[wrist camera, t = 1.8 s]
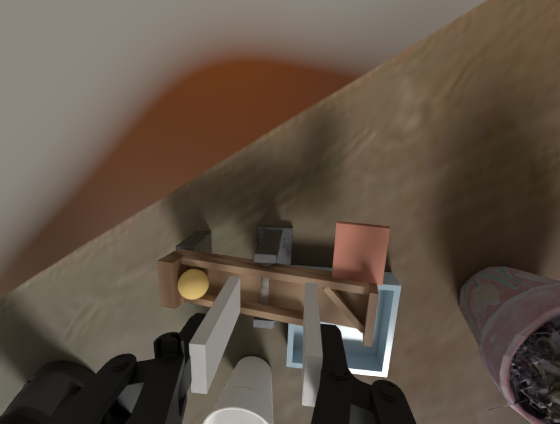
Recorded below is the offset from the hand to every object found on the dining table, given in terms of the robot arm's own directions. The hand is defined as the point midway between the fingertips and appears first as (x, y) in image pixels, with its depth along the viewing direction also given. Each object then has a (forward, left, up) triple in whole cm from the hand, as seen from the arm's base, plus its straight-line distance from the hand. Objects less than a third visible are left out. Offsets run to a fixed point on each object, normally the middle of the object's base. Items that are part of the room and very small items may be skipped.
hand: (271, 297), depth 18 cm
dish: (+8, -14, -21) cm, 26 cm away
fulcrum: (-2, -6, -21) cm, 22 cm away
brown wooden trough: (-2, -3, -12) cm, 13 cm away
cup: (-5, -27, -21) cm, 34 cm away
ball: (-11, -6, -11) cm, 16 cm away
